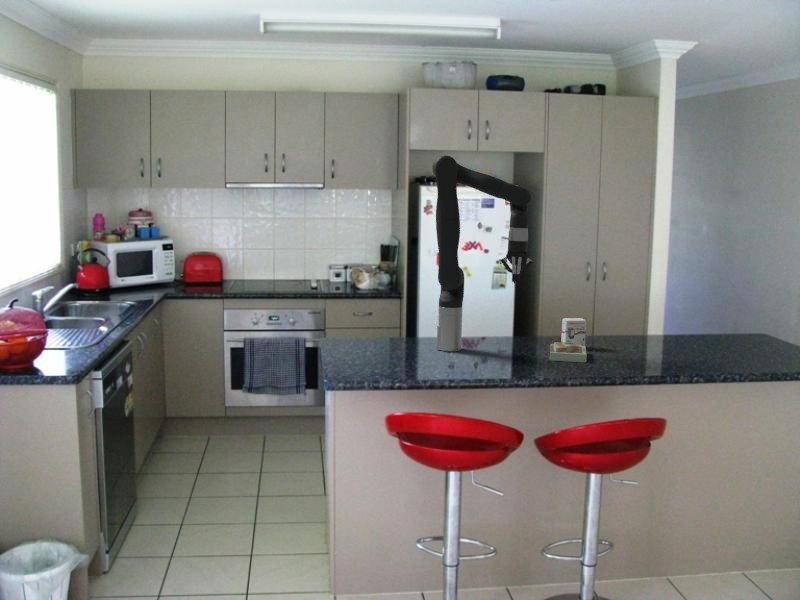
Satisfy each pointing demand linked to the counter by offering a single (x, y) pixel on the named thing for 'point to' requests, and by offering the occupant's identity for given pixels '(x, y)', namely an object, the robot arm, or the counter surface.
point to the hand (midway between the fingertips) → (515, 283)
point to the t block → (567, 348)
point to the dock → (567, 355)
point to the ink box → (573, 331)
